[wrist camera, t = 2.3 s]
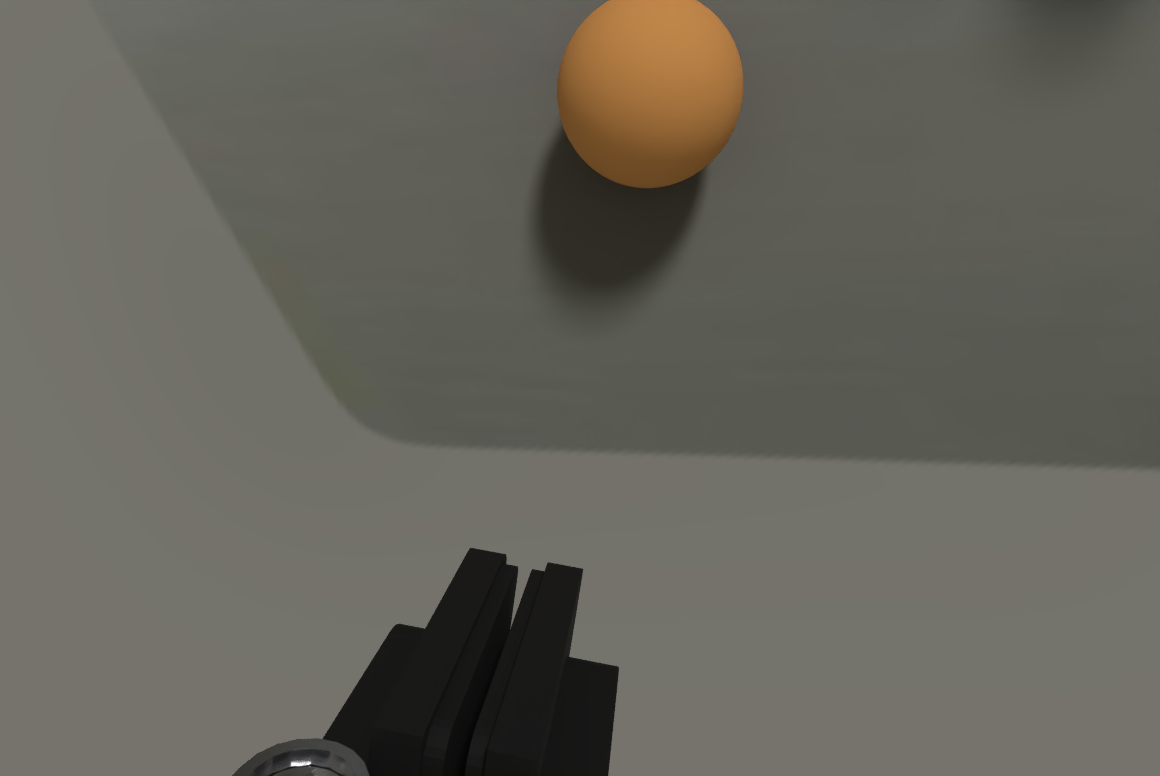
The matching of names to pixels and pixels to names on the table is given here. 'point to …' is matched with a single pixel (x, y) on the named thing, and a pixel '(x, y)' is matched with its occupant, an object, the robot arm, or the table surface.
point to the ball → (650, 90)
